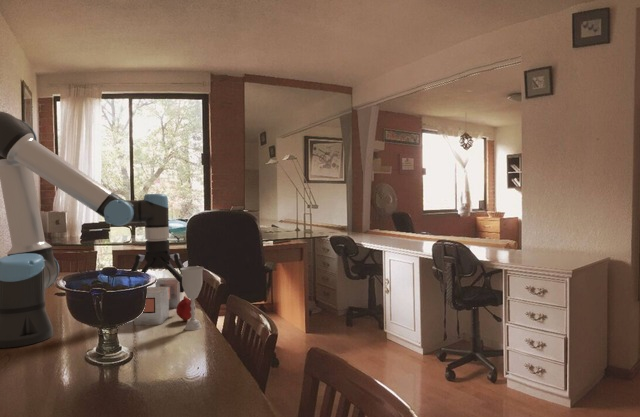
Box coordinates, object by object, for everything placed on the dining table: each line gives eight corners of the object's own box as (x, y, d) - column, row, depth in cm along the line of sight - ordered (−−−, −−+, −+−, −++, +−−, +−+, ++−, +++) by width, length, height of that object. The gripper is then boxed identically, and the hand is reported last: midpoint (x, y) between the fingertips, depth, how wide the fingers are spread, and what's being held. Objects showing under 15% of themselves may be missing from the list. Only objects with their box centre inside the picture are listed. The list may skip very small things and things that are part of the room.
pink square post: (154, 311, 135) (153, 298, 135) (140, 312, 135) (140, 299, 135) (170, 298, 153) (169, 287, 153) (158, 299, 153) (158, 287, 152)
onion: (198, 318, 141) (197, 294, 141) (191, 323, 135) (190, 298, 135) (181, 318, 142) (180, 294, 142) (173, 323, 136) (172, 297, 136)
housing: (160, 324, 135) (160, 292, 135) (134, 325, 135) (133, 293, 134) (168, 316, 144) (168, 286, 144) (144, 317, 144) (143, 287, 143)
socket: (178, 307, 157) (178, 279, 156) (155, 308, 156) (155, 280, 156) (181, 304, 161) (181, 277, 161) (159, 305, 160) (159, 278, 160)
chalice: (197, 331, 127) (196, 270, 126) (176, 330, 128) (175, 269, 128) (209, 324, 134) (208, 266, 133) (188, 323, 135) (187, 266, 135)
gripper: (197, 237, 150) (199, 298, 151) (123, 239, 149) (125, 301, 149) (192, 239, 143) (194, 304, 143) (114, 241, 141) (116, 306, 142)
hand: (159, 302), depth 146 cm, fingers open, 13 cm apart
